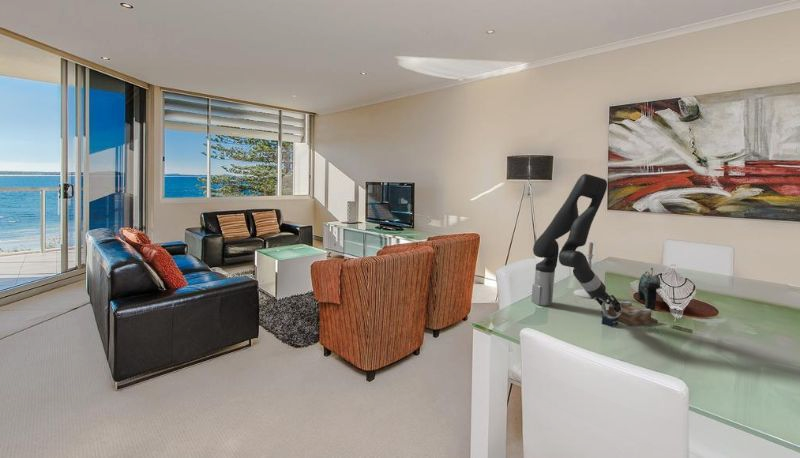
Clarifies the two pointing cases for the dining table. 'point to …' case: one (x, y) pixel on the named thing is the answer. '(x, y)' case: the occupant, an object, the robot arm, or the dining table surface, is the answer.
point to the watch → (610, 316)
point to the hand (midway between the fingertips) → (610, 307)
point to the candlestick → (583, 292)
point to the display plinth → (649, 321)
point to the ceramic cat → (648, 289)
